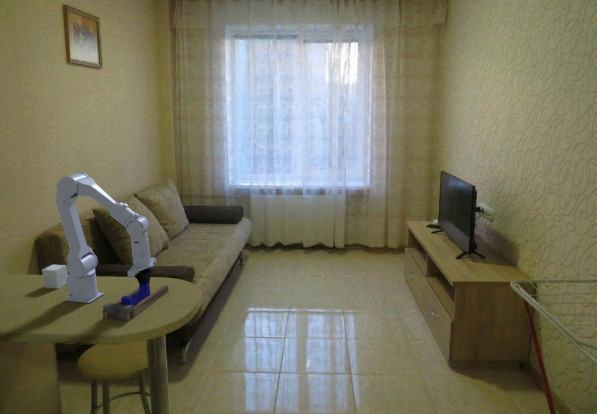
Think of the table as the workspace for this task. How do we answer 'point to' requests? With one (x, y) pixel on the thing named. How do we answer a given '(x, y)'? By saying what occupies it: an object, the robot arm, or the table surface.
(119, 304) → the cable track
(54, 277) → the skincare box
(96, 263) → the robot arm
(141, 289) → the cable clip
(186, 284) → the table surface
